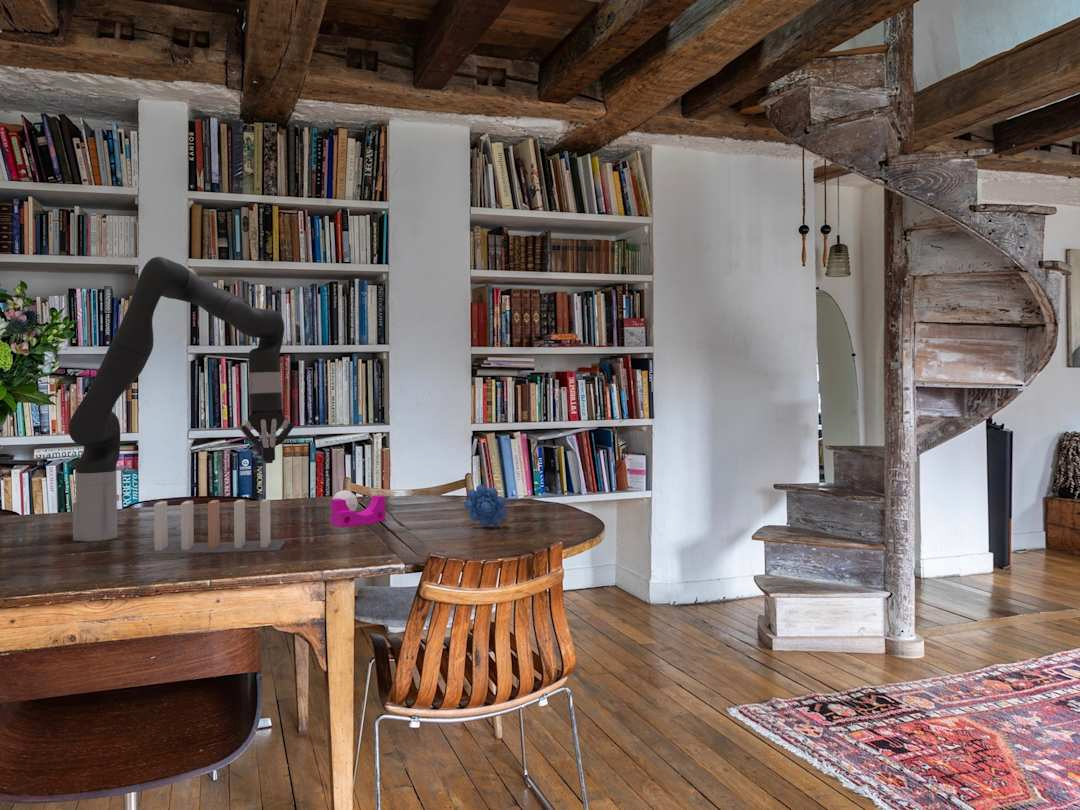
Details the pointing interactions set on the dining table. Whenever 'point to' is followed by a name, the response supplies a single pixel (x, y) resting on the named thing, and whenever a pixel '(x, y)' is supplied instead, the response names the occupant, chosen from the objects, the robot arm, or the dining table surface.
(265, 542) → the domino
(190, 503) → the domino
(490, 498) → the blue flower rosette
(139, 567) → the dining table surface
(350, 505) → the geometric ball
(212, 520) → the domino
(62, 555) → the dining table surface
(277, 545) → the domino mat
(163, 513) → the domino
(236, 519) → the domino
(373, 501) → the toy block
